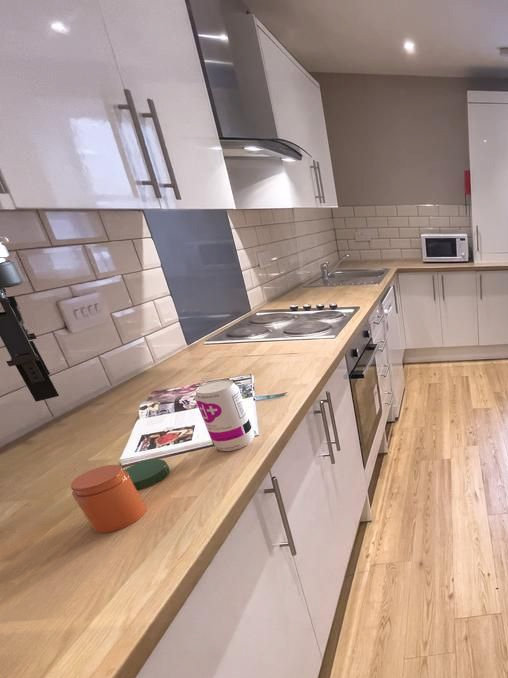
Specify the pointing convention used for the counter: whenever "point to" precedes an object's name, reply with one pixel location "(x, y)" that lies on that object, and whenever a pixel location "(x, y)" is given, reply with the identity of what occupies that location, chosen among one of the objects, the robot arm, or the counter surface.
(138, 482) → the honey lid
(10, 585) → the counter surface
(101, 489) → the honey jar
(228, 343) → the counter surface
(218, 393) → the supplement can
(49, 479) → the counter surface
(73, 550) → the counter surface
